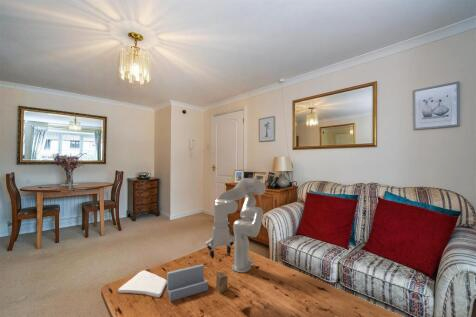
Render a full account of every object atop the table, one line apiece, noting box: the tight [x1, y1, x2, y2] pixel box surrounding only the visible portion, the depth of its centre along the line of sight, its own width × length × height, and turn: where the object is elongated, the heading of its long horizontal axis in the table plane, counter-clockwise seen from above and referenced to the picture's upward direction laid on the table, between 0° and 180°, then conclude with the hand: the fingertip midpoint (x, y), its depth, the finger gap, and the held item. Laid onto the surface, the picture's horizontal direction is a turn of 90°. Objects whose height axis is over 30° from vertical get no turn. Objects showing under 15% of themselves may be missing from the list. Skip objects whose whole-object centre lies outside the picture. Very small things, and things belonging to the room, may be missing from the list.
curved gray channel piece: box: [166, 264, 209, 302], centre depth 114 cm, size 20×10×10 cm, turn 118°
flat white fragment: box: [117, 269, 167, 298], centre depth 119 cm, size 21×4×25 cm
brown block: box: [215, 271, 229, 294], centre depth 114 cm, size 4×6×8 cm
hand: (220, 255), depth 115 cm, fingers open, 9 cm apart
